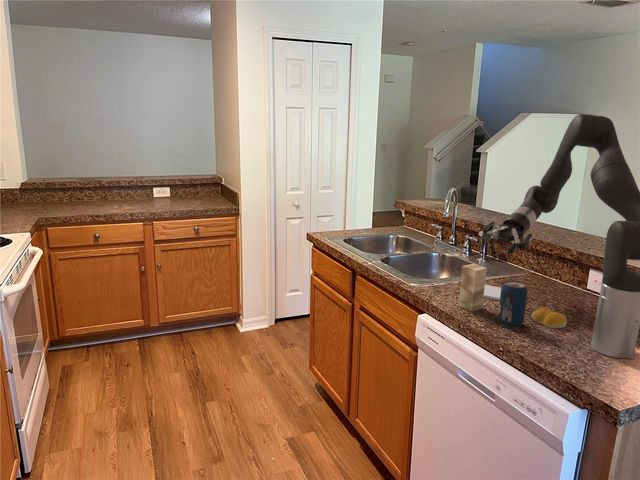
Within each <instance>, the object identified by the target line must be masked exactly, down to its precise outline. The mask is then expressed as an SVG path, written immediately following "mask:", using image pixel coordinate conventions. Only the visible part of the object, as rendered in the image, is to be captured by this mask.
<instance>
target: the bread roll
mask: <svg viewBox="0 0 640 480" xmlns="http://www.w3.org/2000/svg"><path fill="white" fill-rule="evenodd" d="M531 319H532V320H533V322H535V323H537V324H539V325H543V326H544V327H546V328H550V329H563V328H565V327H566V326H567V322H568V320H567V317H566V316H565V314H562V313H560V312H557V311H554V310H552V309H551V308H549V307H539V308H537V309H536V310H534V311H533V312H532V313H531Z"/></svg>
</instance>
